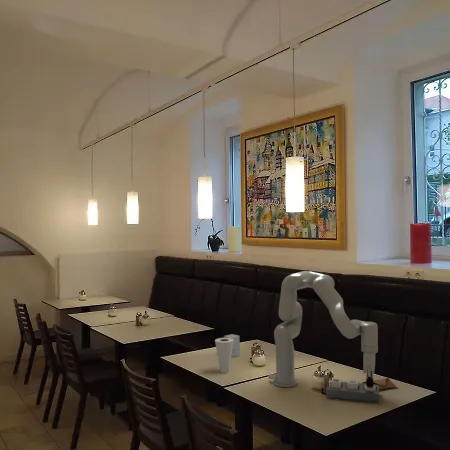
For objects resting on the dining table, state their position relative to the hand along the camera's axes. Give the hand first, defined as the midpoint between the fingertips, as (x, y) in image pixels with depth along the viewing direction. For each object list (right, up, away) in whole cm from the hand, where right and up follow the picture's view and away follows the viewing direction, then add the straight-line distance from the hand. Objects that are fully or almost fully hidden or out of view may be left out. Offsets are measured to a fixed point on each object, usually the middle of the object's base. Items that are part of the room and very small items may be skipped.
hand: (369, 386), depth 240 cm
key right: (0, -4, 0) cm, 4 cm away
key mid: (-7, -3, +2) cm, 8 cm away
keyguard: (-7, -6, +2) cm, 10 cm away
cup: (-69, -6, +45) cm, 83 cm away
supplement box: (-65, -6, +78) cm, 102 cm away
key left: (-15, -3, +5) cm, 16 cm away
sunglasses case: (+9, -6, +13) cm, 17 cm away
